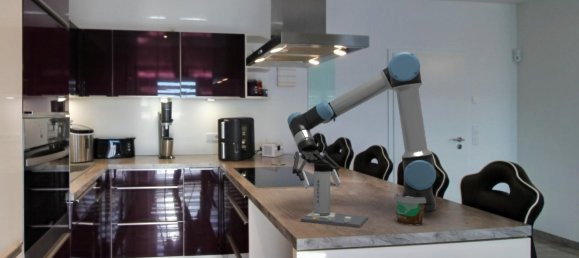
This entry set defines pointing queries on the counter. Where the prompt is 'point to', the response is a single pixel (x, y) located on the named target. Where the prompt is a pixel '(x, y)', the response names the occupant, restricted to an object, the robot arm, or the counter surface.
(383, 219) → the counter surface
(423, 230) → the counter surface
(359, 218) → the breaker panel
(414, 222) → the food container
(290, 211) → the counter surface
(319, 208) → the travel mug
